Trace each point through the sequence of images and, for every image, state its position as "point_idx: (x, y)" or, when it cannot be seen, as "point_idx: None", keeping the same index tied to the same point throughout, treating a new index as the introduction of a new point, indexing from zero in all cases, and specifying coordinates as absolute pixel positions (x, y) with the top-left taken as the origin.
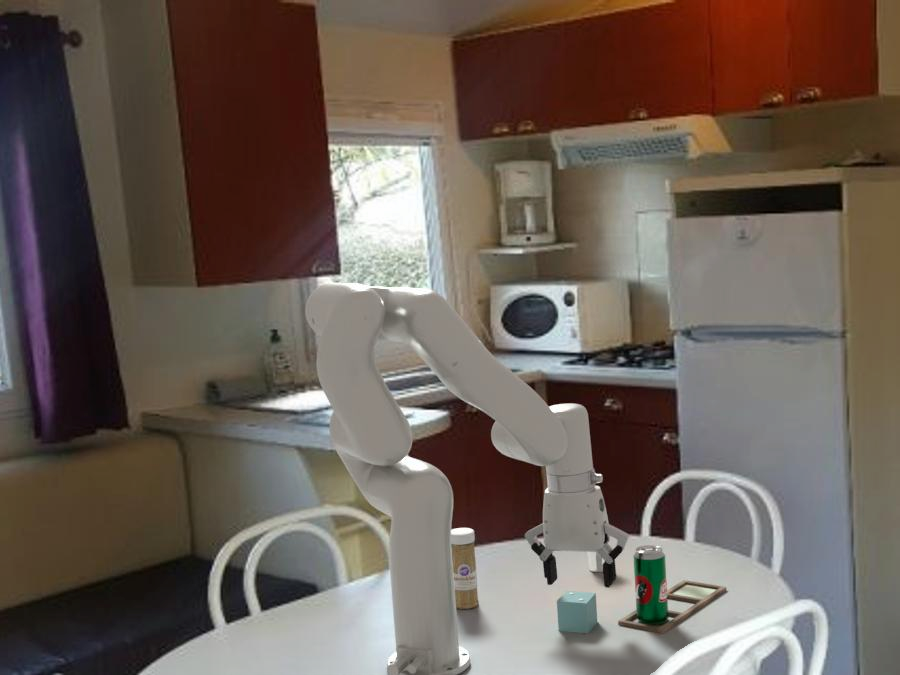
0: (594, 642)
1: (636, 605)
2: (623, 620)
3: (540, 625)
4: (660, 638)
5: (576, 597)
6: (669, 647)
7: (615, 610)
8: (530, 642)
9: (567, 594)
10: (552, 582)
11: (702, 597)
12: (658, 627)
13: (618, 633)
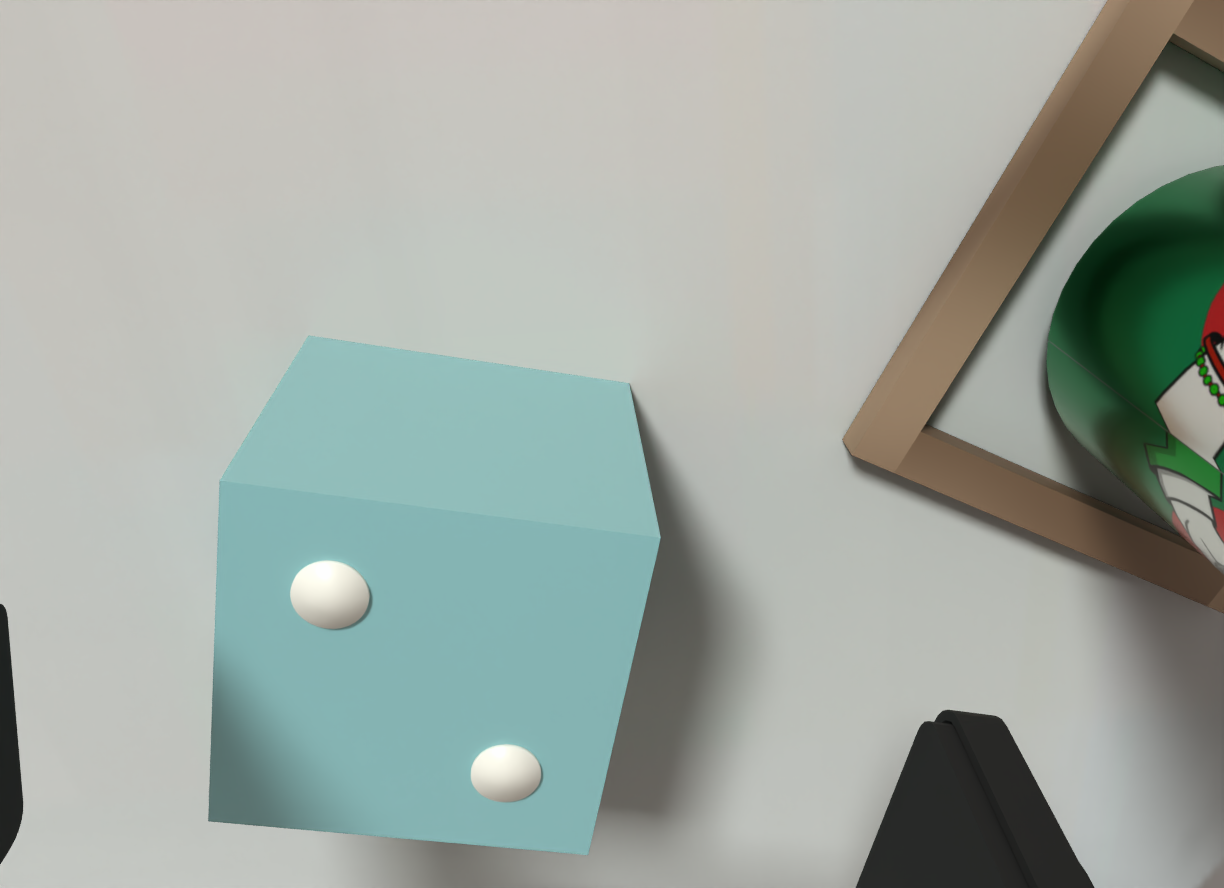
0: (652, 801)
1: (1116, 434)
2: (905, 437)
3: (67, 508)
4: (1180, 689)
5: (428, 702)
6: (1215, 827)
7: (806, 8)
8: (129, 847)
9: (278, 617)
10: (12, 813)
11: None
12: (1214, 576)
13: (842, 625)
